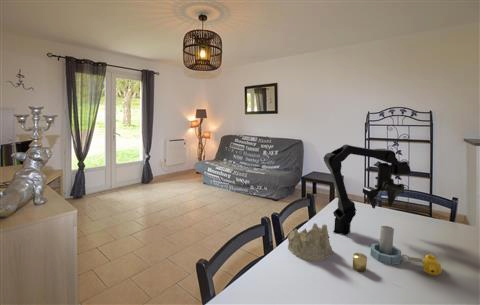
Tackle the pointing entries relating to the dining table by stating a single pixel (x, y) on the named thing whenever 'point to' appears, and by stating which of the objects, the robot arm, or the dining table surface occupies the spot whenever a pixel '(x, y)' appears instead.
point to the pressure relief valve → (426, 263)
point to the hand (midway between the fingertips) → (381, 207)
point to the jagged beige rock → (310, 243)
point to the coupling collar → (386, 258)
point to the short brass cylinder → (359, 262)
